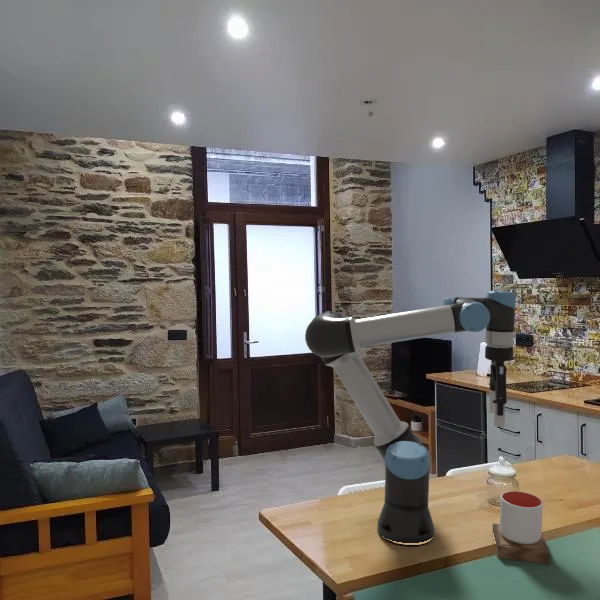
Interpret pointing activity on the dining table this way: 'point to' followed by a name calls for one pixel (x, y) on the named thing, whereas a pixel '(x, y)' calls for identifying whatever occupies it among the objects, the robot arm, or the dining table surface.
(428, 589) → the dining table surface
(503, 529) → the cup
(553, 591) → the dining table surface
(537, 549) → the base
